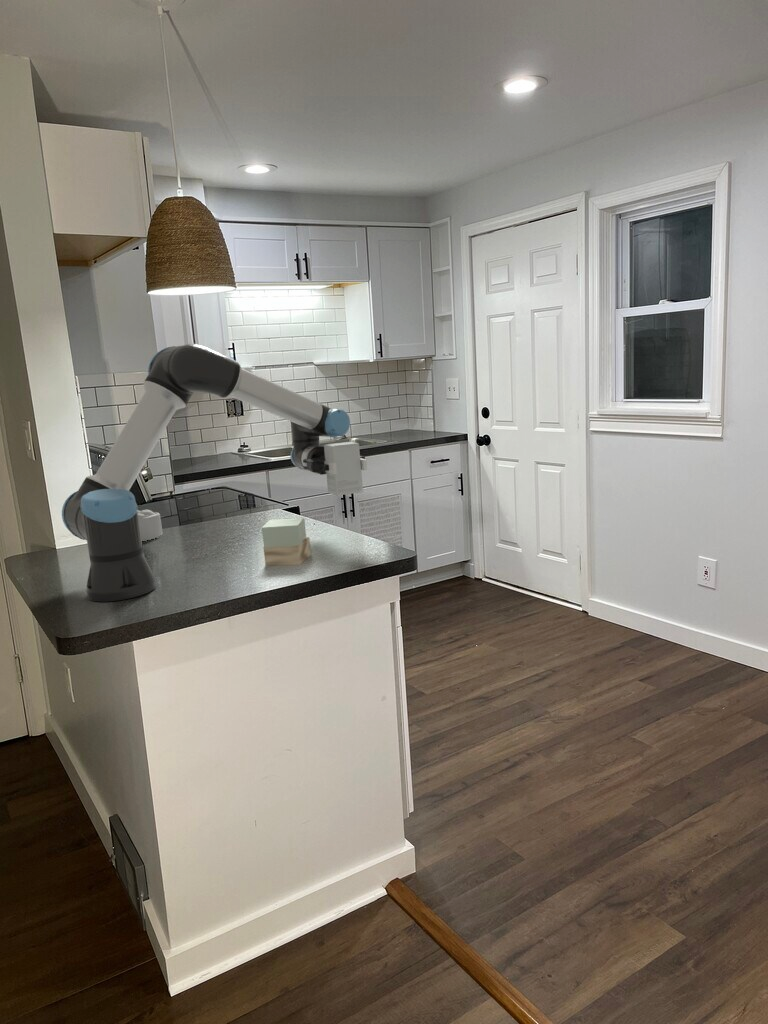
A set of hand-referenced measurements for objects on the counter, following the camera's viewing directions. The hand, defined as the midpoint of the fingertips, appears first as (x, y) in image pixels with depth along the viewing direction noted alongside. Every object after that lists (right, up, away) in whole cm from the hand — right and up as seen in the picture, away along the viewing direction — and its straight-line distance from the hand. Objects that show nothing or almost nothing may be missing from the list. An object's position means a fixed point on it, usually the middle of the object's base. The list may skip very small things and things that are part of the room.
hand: (350, 466), depth 190 cm
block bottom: (-16, -24, +3) cm, 29 cm away
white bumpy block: (-66, -20, +44) cm, 82 cm away
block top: (-16, -19, +2) cm, 25 cm away
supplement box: (-2, -6, +6) cm, 9 cm away
